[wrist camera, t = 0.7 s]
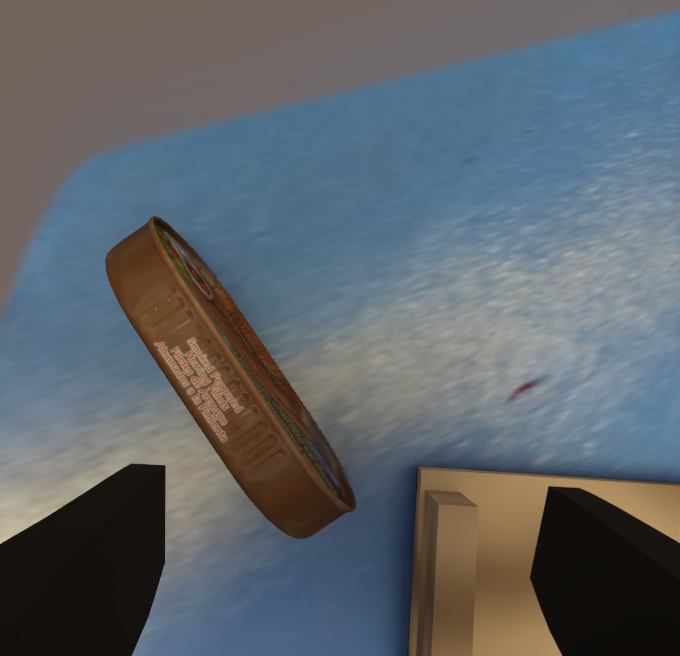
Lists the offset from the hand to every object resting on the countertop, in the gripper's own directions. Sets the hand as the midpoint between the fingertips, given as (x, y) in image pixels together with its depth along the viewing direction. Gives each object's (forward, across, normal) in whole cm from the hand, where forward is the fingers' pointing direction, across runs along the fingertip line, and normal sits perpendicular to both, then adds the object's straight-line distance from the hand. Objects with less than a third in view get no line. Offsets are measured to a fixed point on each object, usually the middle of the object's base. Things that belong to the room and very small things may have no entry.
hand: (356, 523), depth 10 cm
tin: (+17, +4, +4) cm, 18 cm away
